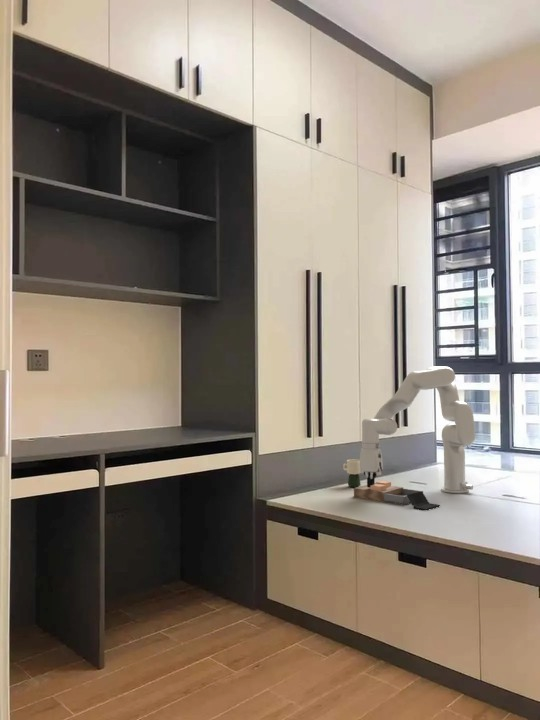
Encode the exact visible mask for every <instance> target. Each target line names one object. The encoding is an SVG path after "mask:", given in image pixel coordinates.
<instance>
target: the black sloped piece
mask: <svg viewBox="0 0 540 720" xmlns="http://www.w3.org/2000/svg"><path fill="white" fill-rule="evenodd" d="M420 491H421V492H417V493H413V494H409V495H407V497H408V499H409V500H410V502H411V503H410V504H411V505H412V507H413V508H414V509H413V510H418V509H419V510H420V511H423V510H427V511H430V510H429V509H431V510H433V508H434V509H437V508H436V507H438V508H440V507H441V505H440V504H436V503H430V501H429V500H428V499H427V497H426V496H425V494H424V491H423V490H420ZM422 491H423V492H422ZM439 506H440V507H439Z"/></svg>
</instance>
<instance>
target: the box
mask: <svg viewBox="0 0 540 720" xmlns="http://www.w3.org/2000/svg"><path fill="white" fill-rule="evenodd" d="M421 491H422V492H423V493H424V491H423V490H417V489H410V488H409V489H408V488H404V487H403V489H402V492H403V495H400V496H398V495H392V494H384V502H383V503H388V502H390V504H395V503H396V505H401V504H402V506H406V505H408V503H409V504H411V502H410V500H409V499H408V497H407V495H409V494H413V493H417V492H421Z"/></svg>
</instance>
